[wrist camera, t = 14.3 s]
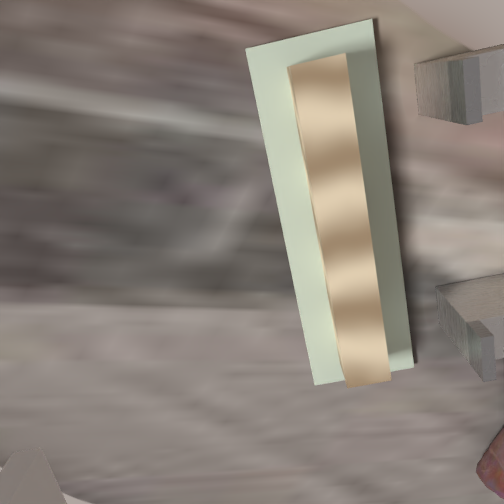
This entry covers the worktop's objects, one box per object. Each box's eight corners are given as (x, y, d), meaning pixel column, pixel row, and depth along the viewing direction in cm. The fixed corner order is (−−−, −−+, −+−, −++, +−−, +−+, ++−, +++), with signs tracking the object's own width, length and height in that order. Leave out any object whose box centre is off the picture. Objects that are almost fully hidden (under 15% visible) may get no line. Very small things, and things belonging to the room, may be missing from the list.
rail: (286, 67, 38) (290, 65, 34) (336, 55, 38) (345, 52, 34) (340, 363, 47) (347, 388, 43) (380, 356, 47) (391, 380, 43)
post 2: (435, 286, 45) (480, 338, 36) (510, 272, 45) (575, 320, 36) (439, 323, 46) (483, 381, 37) (512, 309, 46) (575, 365, 37)
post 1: (413, 64, 38) (462, 60, 30) (502, 44, 38) (579, 33, 29) (418, 114, 40) (466, 125, 31) (504, 96, 39) (578, 100, 30)
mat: (245, 49, 38) (245, 48, 38) (370, 19, 37) (372, 18, 37) (314, 381, 49) (314, 385, 48) (412, 363, 48) (414, 367, 47)
